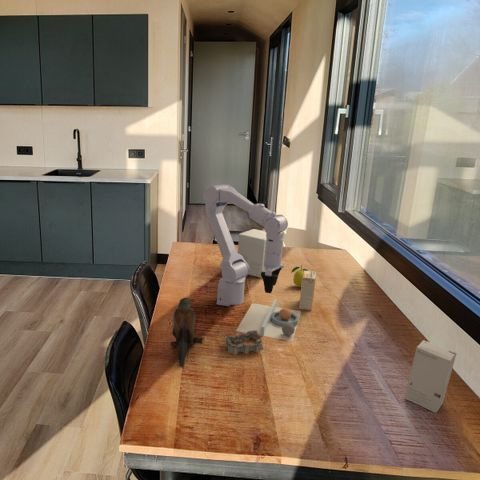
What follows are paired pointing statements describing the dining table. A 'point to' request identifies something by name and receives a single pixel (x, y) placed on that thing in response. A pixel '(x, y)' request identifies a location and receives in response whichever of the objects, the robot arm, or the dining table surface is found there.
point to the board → (257, 317)
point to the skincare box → (429, 375)
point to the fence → (268, 317)
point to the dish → (280, 322)
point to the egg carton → (241, 347)
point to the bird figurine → (184, 329)
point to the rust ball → (285, 313)
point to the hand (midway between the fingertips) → (270, 288)
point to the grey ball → (288, 329)
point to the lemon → (298, 276)
